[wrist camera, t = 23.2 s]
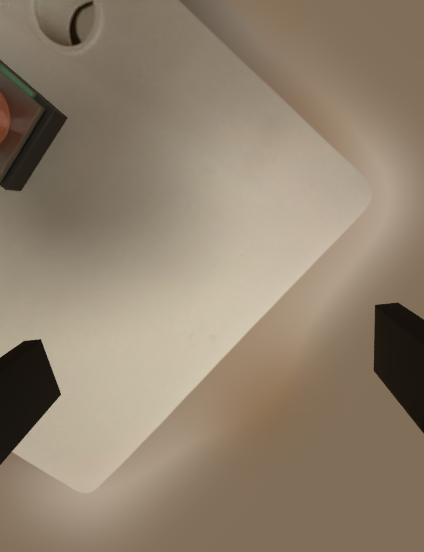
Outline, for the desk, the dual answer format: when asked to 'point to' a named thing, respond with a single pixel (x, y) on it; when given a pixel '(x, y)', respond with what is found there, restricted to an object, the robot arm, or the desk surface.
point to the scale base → (32, 136)
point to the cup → (4, 118)
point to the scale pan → (17, 121)
